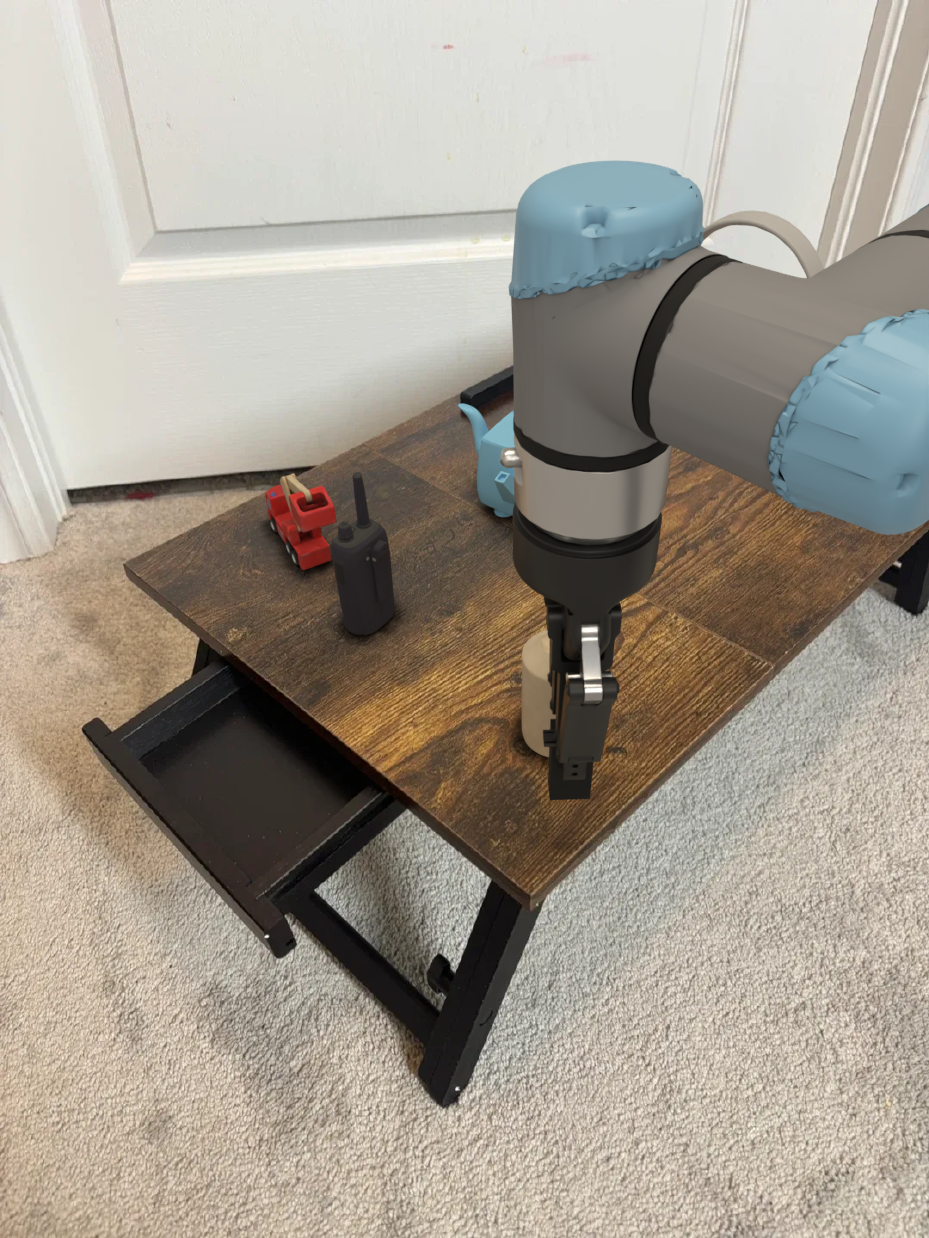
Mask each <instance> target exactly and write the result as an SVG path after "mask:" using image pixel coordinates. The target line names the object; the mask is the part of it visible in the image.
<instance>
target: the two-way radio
mask: <svg viewBox="0 0 929 1238" xmlns="http://www.w3.org/2000/svg"><path fill="white" fill-rule="evenodd" d="M352 485H353V496H354V505H355V512H356V519H355V520H353V522H351V523H350V522H348V521H345V520H344V521H341V522H340V523H339V524H338V527H337V534H336V535H335V536H334V537H333V538H332V539H331V544H330V554H331V561H332V564H333V570H334V577H335V581H336V586H337V595H338V598H339V599H338V600H339V603H340V608H341V612H342V617H343V622H344V623H343V624H344V626H345V628H346V630H347V631H348V632H350V633H351V634H353V635H356V636H363V635H365V636H367V635H371V634H373V633H375V632H377V631H378V630H379V629H381V628H382V627H383V626H384V625H385V624H386V623H387V622H389V621H390V620H391V618H392V617H393V616H394V615H395V608H396V607H395V606H396V605H395V595H394V581H393V580H394V579H393V570H392V569H393V568H392V558H391V550H390V544H389V538H388V534H387V530H385V528H384V527H383V526H382V525H381V524H380V523H379V522H377V521H376V520H374V519H371V518H370V515H369V509H368V501H367V495H366V490H365V485H364V479H363V474H362V473H361V472H360V471H354V472H353V473H352Z"/></svg>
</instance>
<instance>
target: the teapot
mask: <svg viewBox="0 0 929 1238" xmlns="http://www.w3.org/2000/svg"><path fill="white" fill-rule="evenodd" d="M457 407H458V408H459V410H460V411H462V412H463V413H464V414H465V416H466V418H468V420H469V422H470V425H471V429H472V433H473V442H474V448H475V452H476V454H477V457H478V458H477V459H478V460H477V469H476V491H477V495H478V499H479V501H480V502H481V503H482V504H483V505H485V506H488V507H490V508H491V509H494V510H493V512H494V514H495V516H496V517H500V518H509V517H511V516H512V517H513V508H514V504H515V499H514V468H505V467H504V466H503V465H502V464H501V462H500V456H501V451H502V450H503V448H508V447H515V444H514V430H513V417H514V412H513V411H514V409H513V410H511V411H510V412H509V413H508V414H507V415H505V416H504V417H503V418H502V419H501V420H500V421H498V422H497V423H496V424H495V425H494V426H493V427H492V428H491V429H490V430H489V427H488V425H487V423H486V421H485V418H484V417H483V415H482V414H481V412H480V411H479V410H478V409H477V408H476V407H474V406H473V405H469V404H467V403H458V405H457Z"/></svg>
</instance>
